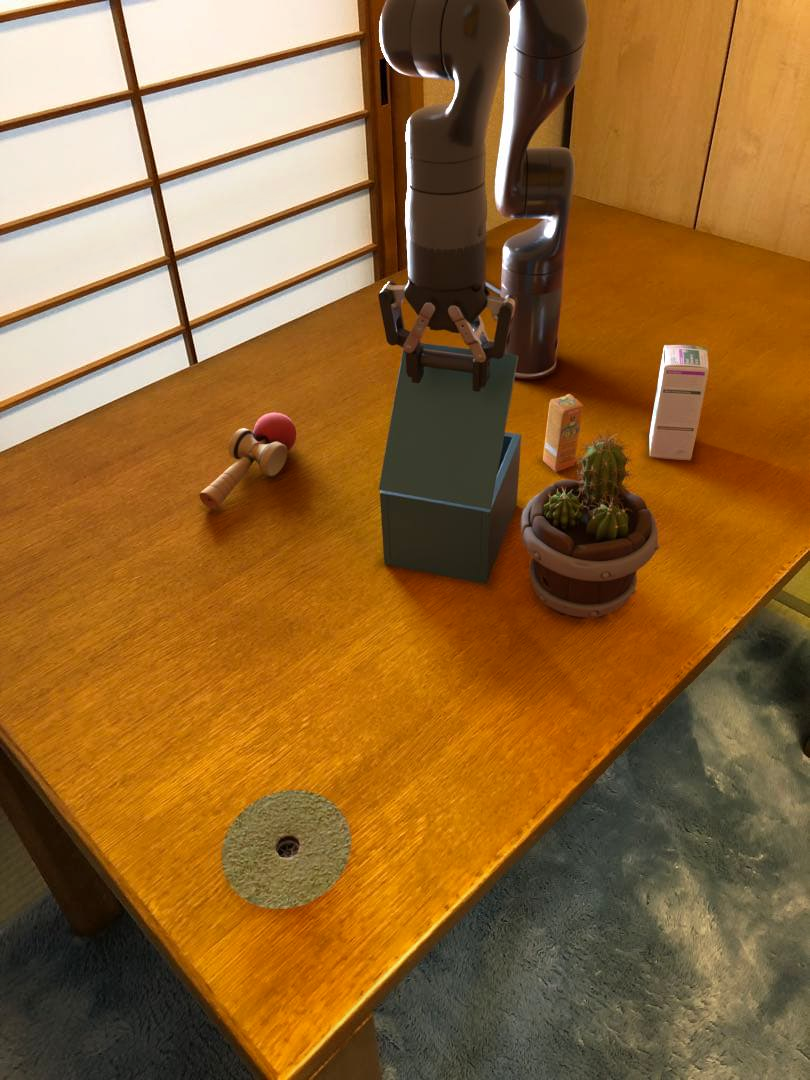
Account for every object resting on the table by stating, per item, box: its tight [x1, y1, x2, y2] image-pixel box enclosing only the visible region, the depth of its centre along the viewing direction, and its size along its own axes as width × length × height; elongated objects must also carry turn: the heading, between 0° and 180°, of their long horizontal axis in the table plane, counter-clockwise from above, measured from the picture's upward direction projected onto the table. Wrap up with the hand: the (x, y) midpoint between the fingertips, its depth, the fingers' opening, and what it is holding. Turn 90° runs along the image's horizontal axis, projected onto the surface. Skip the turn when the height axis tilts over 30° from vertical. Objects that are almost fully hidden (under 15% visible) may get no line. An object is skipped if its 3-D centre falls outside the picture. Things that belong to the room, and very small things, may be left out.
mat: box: [220, 789, 352, 910], centre depth 77 cm, size 11×11×2 cm
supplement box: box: [542, 393, 584, 473], centre depth 117 cm, size 3×3×10 cm
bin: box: [379, 431, 522, 586], centre depth 106 cm, size 16×13×11 cm
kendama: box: [199, 412, 297, 511], centre depth 119 cm, size 8×6×18 cm
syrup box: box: [649, 344, 710, 461], centre depth 118 cm, size 6×6×14 cm
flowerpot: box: [520, 429, 660, 620], centre depth 95 cm, size 14×15×20 cm
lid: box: [378, 342, 518, 509], centre depth 94 cm, size 17×13×5 cm
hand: (447, 382), depth 93 cm, fingers closed on lid, 6 cm apart
